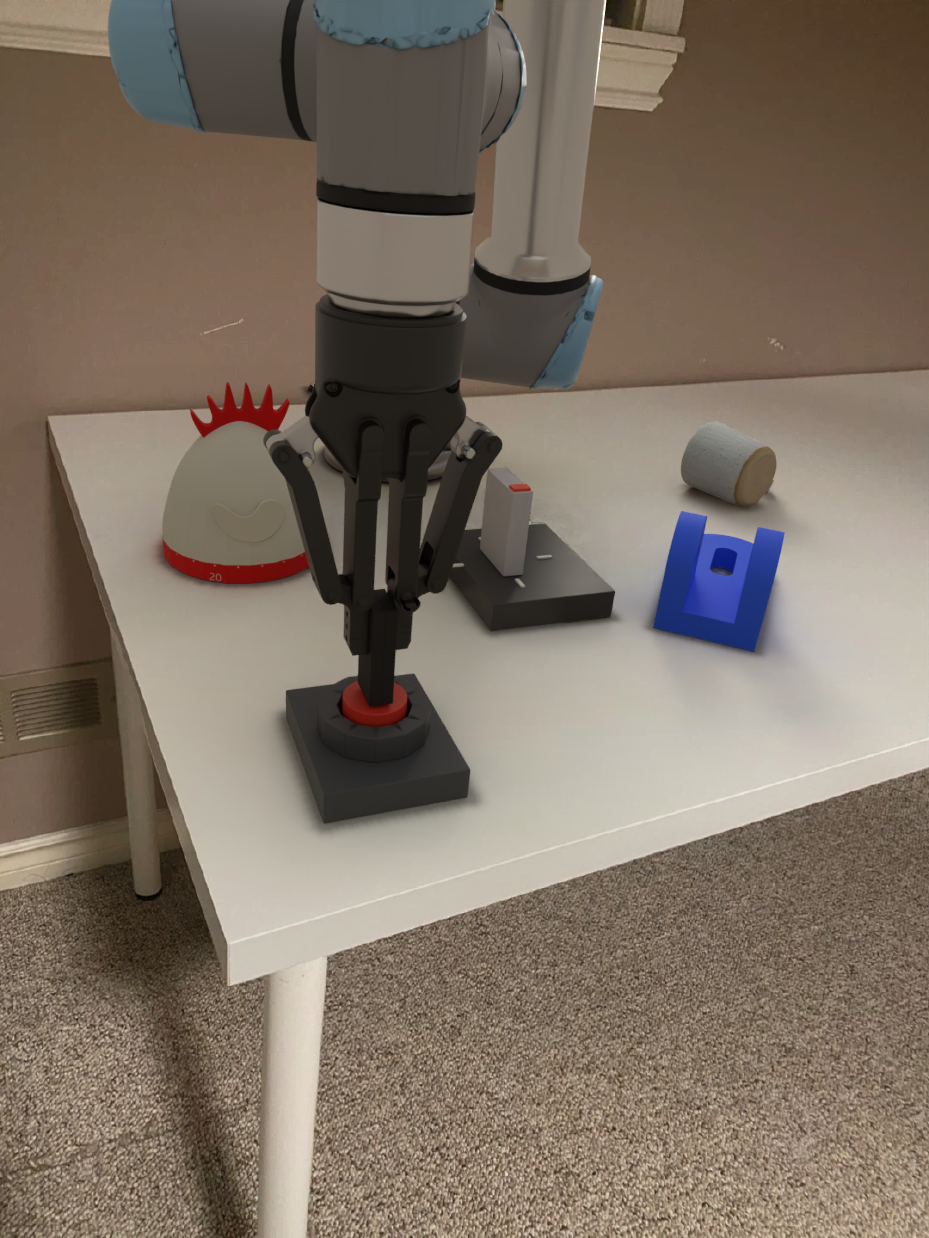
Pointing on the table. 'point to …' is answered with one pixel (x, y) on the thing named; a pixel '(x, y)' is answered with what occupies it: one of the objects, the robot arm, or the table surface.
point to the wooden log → (728, 464)
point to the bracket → (717, 583)
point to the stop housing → (374, 754)
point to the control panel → (531, 584)
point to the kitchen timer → (233, 500)
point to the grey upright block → (506, 521)
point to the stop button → (373, 707)
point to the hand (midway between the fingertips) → (375, 692)
